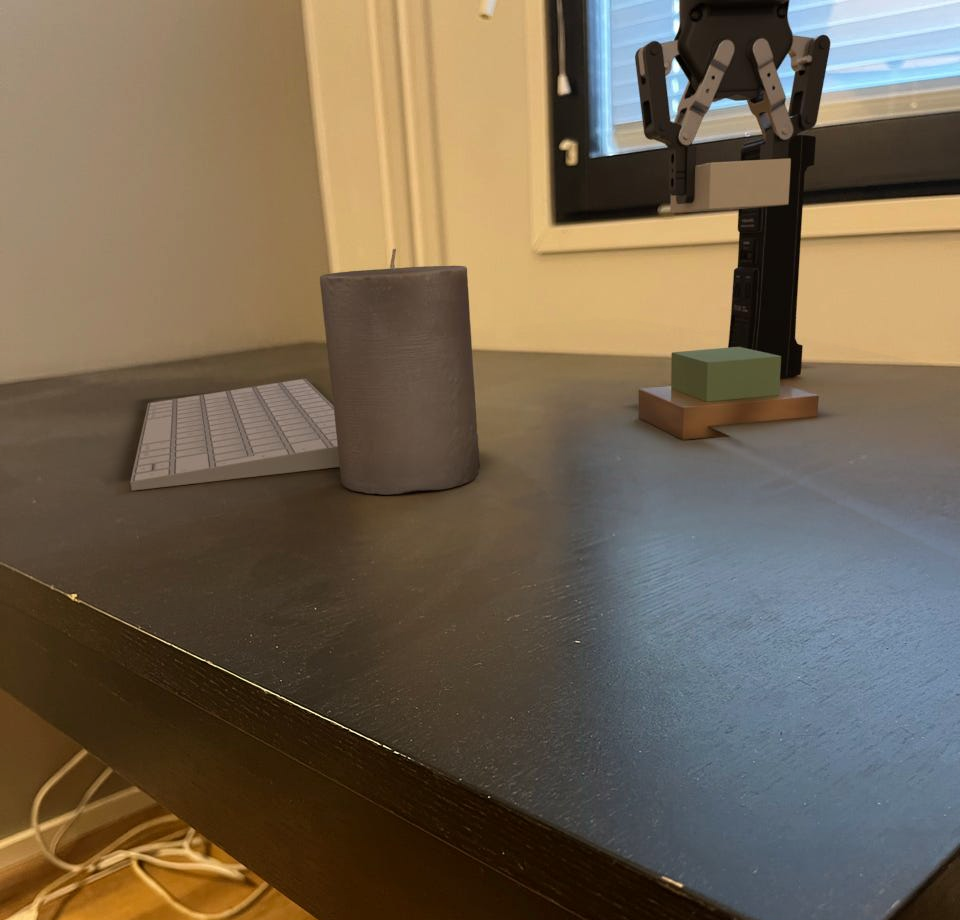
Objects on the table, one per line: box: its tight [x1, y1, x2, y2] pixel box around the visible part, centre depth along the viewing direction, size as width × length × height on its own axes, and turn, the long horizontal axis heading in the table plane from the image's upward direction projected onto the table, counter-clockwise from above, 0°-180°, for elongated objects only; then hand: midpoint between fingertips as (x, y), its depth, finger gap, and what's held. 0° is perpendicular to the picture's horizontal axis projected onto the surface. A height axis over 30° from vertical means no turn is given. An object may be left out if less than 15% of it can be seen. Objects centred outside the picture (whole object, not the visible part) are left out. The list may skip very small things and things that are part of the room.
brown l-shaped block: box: [638, 383, 820, 441], centre depth 81 cm, size 11×11×2 cm
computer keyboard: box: [129, 378, 340, 491], centre depth 91 cm, size 43×19×2 cm, turn 14°
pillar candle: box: [319, 248, 481, 496], centre depth 66 cm, size 10×10×15 cm
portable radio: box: [727, 133, 817, 379], centre depth 100 cm, size 8×6×25 cm
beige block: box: [669, 158, 791, 214], centre depth 73 cm, size 6×8×3 cm
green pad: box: [670, 347, 781, 402], centre depth 80 cm, size 6×8×3 cm
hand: (727, 199), depth 73 cm, fingers closed on beige block, 6 cm apart
